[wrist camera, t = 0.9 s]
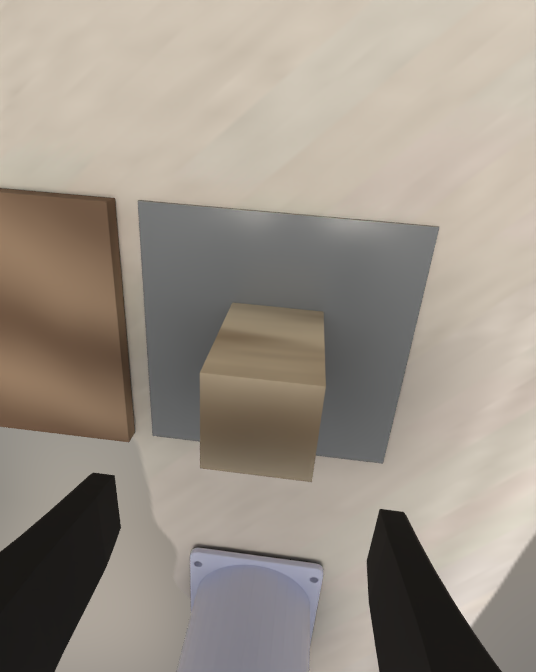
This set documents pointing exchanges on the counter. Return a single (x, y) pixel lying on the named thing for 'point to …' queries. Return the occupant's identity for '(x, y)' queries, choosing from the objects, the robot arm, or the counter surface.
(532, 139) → the counter surface
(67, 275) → the board
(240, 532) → the counter surface
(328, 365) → the tile
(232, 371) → the maple block
